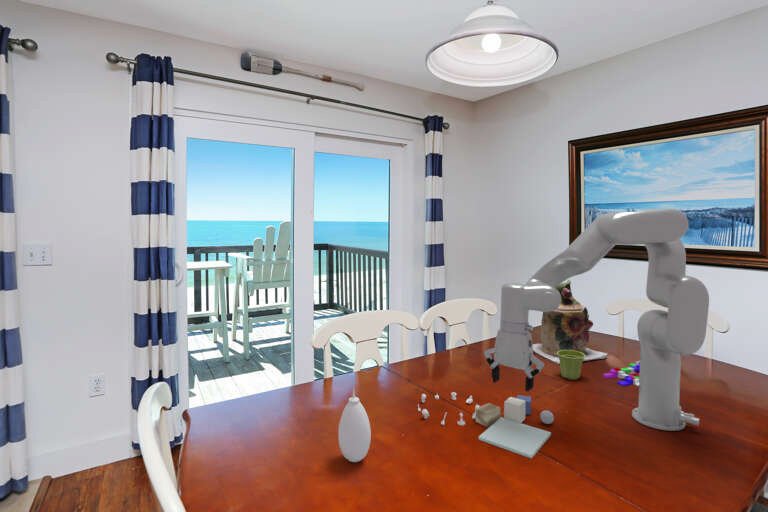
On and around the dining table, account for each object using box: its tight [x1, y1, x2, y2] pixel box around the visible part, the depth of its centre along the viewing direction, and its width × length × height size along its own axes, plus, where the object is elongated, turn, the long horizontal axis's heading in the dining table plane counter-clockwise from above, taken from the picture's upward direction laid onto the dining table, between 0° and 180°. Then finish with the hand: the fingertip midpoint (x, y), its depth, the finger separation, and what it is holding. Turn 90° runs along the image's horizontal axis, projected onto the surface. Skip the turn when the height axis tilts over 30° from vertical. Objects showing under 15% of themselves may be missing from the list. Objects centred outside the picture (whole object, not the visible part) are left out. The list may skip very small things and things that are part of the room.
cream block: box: [503, 396, 526, 424], centre depth 117 cm, size 4×4×6 cm
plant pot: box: [557, 350, 585, 380], centre depth 149 cm, size 9×9×9 cm
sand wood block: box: [475, 402, 501, 428], centre depth 117 cm, size 4×6×4 cm, turn 127°
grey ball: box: [539, 409, 555, 425], centre depth 115 cm, size 4×4×4 cm
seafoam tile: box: [478, 416, 552, 459], centre depth 108 cm, size 14×14×1 cm
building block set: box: [602, 360, 640, 388], centre depth 147 cm, size 25×20×4 cm
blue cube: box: [516, 394, 532, 416], centre depth 123 cm, size 4×4×4 cm
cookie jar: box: [532, 279, 608, 365], centre depth 175 cm, size 25×25×32 cm
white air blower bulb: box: [337, 387, 372, 463], centre depth 98 cm, size 8×8×18 cm
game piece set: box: [417, 391, 481, 426], centre depth 124 cm, size 19×20×4 cm
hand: (511, 385), depth 116 cm, fingers open, 9 cm apart
